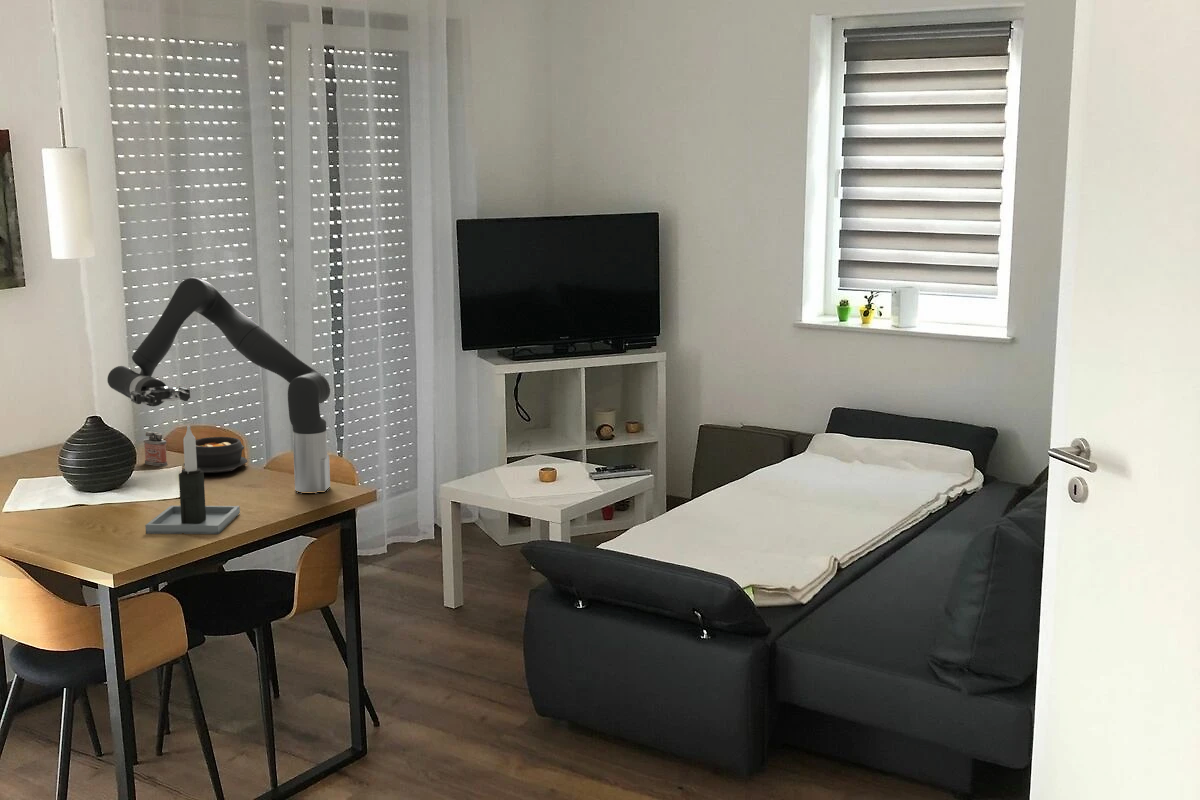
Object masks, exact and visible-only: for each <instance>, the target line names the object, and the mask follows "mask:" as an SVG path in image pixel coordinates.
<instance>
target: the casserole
mask: <svg viewBox="0 0 1200 800" xmlns="http://www.w3.org/2000/svg"><path fill="white" fill-rule="evenodd" d="M195 440H196V458H197V468H199V469H201V471H204V474H211V473H212V474H215V473H226V472H233V471H234V470H236V469H237V468H239V467H241V466H244V465H245V464H247V463H248V459H247V458H246V457H243V456H242V454H243V453H242V452H243V450H244V449H245V446H244V445H243V443H242V442H241V440H240V439H239V438H236V437H231V436H229V437H228V436H212V437H210V436H209V437H203V438H198V439H195ZM183 466H184V467H185V462H184V463H183Z"/></svg>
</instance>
